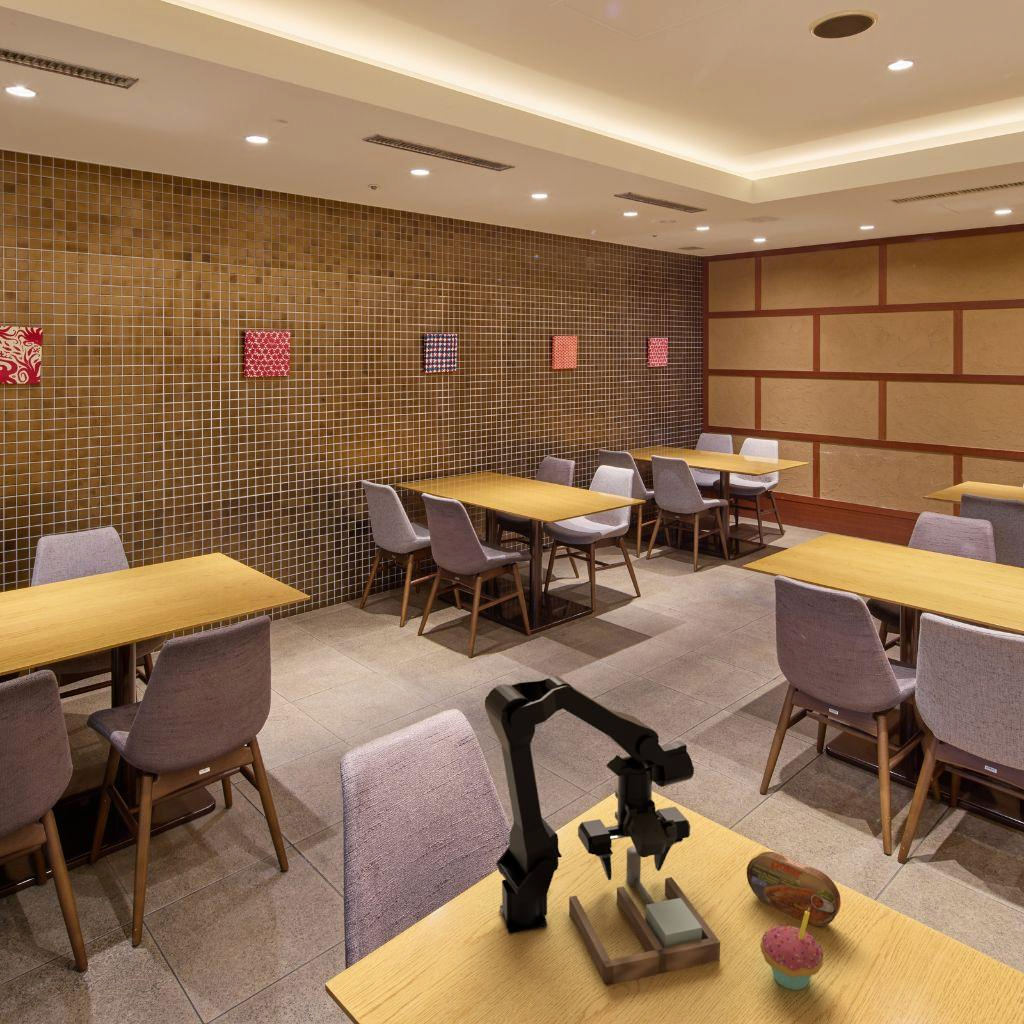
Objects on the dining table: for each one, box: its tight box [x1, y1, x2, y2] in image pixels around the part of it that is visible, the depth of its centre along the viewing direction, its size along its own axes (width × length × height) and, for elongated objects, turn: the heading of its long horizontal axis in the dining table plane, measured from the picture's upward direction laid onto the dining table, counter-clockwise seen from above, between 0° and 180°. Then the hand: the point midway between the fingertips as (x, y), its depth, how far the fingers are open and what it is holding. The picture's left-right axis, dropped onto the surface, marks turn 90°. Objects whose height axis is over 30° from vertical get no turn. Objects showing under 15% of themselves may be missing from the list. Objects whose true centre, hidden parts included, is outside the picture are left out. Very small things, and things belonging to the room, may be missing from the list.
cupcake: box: [760, 908, 824, 991], centre depth 111 cm, size 9×8×12 cm
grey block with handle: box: [625, 846, 702, 948], centre depth 126 cm, size 6×20×6 cm, turn 15°
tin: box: [746, 851, 842, 927], centre depth 126 cm, size 15×3×8 cm, turn 47°
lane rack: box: [568, 876, 721, 986], centre depth 121 cm, size 18×16×3 cm
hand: (633, 874), depth 134 cm, fingers open, 9 cm apart
